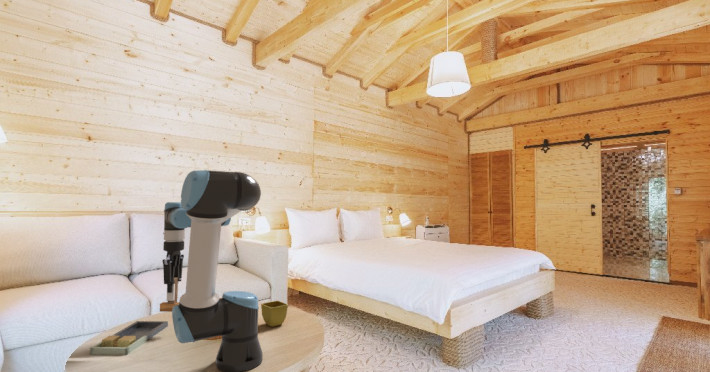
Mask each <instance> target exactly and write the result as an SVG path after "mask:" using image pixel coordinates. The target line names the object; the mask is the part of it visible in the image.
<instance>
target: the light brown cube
mask: <svg viewBox="0 0 710 372" xmlns="http://www.w3.org/2000/svg"><path fill="white" fill-rule="evenodd" d="M135 340H136V336H124V337H122V338H120V339H119V340H118V347H128V346H129V345H131V344H132V343H134V342H135Z"/></svg>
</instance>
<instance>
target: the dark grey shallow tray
mask: <svg viewBox="0 0 710 372" xmlns="http://www.w3.org/2000/svg"><path fill="white" fill-rule="evenodd" d="M168 326H169V321H165V320H161V321H160V320H157V321H156V320H155V321H153V320H152V321H151V320H145V321H144V320H137V321H134V322H133V323H131V324H130V325H128V326H126V327H124V328H122V329H121V330H119V331H117V332H115V333H114V334H113V335H115V336H120V338H122V337H124V336H136V340H135V341H137V340H138V339H140V338H141V337H143V336H147V341H146V342H148V341H149V340H150V339H152V338H153V337H155V336H156V335H158V334H159V333H160V332H162V331H164V330H165V329H166V328H168Z"/></svg>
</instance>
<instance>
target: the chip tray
mask: <svg viewBox="0 0 710 372" xmlns="http://www.w3.org/2000/svg"><path fill="white" fill-rule="evenodd" d="M111 336H115V335H114V334H112V335H111ZM146 342H148V341H147V336H143V337H141V338H140V339H138V340H137V341H135V342H134V343H132V344H131V345H129V346H128V347H102V341H100V342H99V343H96V344H94V346H91V347H90V348H89V355H129V354H131V353H132V352H133V351H135V350H136V349H138V348H139V347H141V346H142V345H143V344H145V343H146Z"/></svg>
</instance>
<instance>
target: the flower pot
mask: <svg viewBox="0 0 710 372" xmlns="http://www.w3.org/2000/svg"><path fill="white" fill-rule="evenodd" d="M260 305H261V306H260V309H261V315H262V318H263V322H264V323H265V324H266V325H267V326H270V327H271V328H273V327H277V326H281V325H283V323H285V320H286V317H287V313H288V307H289V304H288V303H286V302H283V301H281V300H273V301H268V302H264V303H260Z"/></svg>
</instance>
